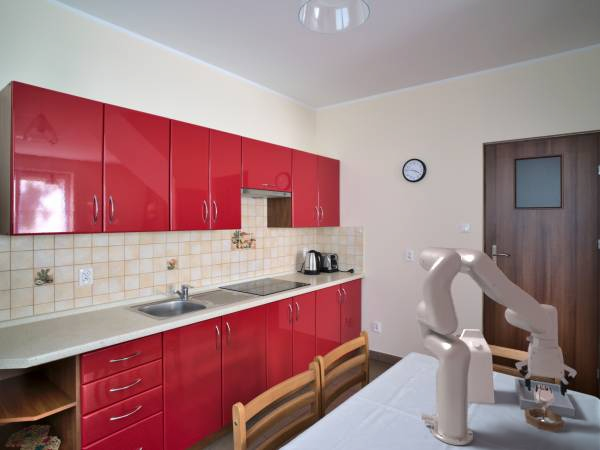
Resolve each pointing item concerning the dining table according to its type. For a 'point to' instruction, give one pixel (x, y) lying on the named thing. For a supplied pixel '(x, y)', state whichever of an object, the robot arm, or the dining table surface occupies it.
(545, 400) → the wineglass
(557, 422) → the collar
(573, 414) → the tray
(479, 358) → the milk
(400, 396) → the dining table surface
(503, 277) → the robot arm
